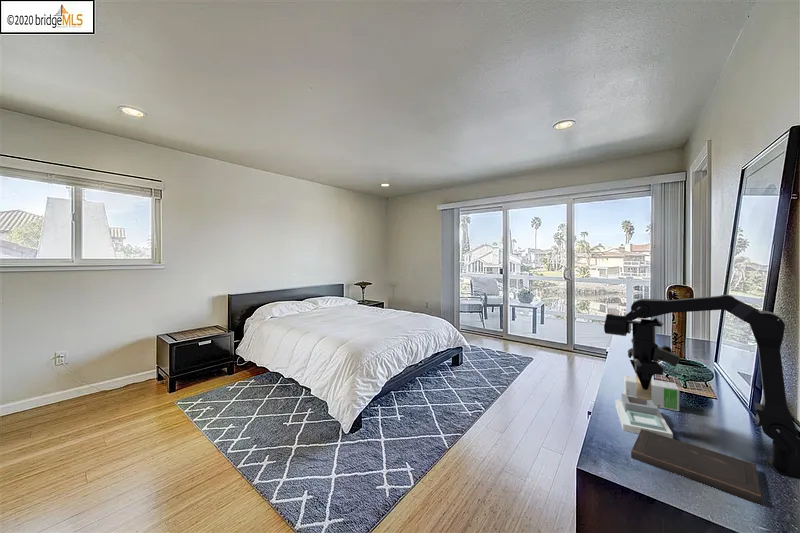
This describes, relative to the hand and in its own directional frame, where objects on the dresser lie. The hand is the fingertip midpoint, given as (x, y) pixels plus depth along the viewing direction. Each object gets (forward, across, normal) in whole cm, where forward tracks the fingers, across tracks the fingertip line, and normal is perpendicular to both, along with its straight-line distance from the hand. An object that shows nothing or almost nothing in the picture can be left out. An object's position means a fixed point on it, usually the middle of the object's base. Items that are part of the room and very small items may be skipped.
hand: (644, 387), depth 99 cm
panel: (+13, +4, 0) cm, 14 cm away
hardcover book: (+14, -17, -7) cm, 23 cm away
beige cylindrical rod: (+3, 0, 0) cm, 3 cm away
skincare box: (+9, +22, -13) cm, 27 cm away
